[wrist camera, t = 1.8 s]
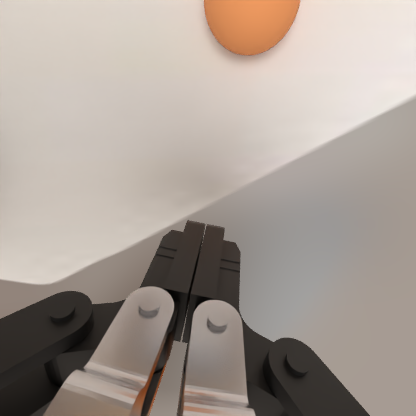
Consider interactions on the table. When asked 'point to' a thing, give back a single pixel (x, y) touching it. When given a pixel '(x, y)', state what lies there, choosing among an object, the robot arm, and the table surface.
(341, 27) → the table surface
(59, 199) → the table surface
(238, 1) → the ball
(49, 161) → the table surface
